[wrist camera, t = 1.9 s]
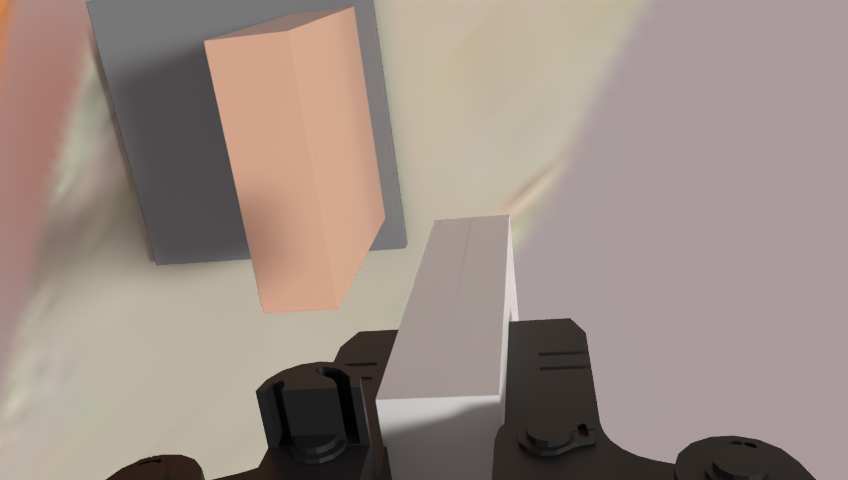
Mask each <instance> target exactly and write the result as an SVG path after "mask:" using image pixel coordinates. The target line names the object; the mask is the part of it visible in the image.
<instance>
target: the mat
mask: <svg viewBox="0 0 848 480" xmlns="http://www.w3.org/2000/svg"><path fill="white" fill-rule="evenodd" d="M86 5H87V8H88V12H89V16H90V20H91V23H92V27H93V31H94V34H95V38H96V42H97V46H98V49H99V53H100V57H101V61H102V64H103V68H104V72H105V75H106V79H107V83H108V87H109V90H110V94H111V98H112V101H113V105H114V109H115V113H116V116H117V120H118V124H119V128H120V131H121V135H122V139H123V142H124V146H125V150H126V154H127V157H128V161H129V165H130V169H131V172H132V176H133V180H134V183H135V187H136V191H137V195H138V198H139V202H140V206H141V210H142V213H143V217H144V221H145V224H146V228H147V232H148V236H149V239H150V243H151V247H152V251H153V254H154V258H155V262H156V265H167V264H182V263H196V262H211V261H226V260H240V259H251V255H250V251H249V246H248V242H247V237H246V233H245V228H244V223H243V219H242V214H241V210H240V205H239V201H238V196H237V192H236V187H235V183H234V178H233V173H232V169H231V164H230V160H229V155H228V151H227V146H226V142H225V137H224V133H223V128H222V123H221V119H220V114H219V110H218V105H217V101H216V96H215V92H214V87H213V83H212V78H211V73H210V69H209V64H208V60H207V55H206V51H205V44H204V41H205V40H208V39H212V38H215V37H218V36H221V35H225V34H228V33H231V32H235V31H238V30H241V29H244V28H248V27H251V26H254V25H257V24H261V23H264V22H267V21H270V20H274V19H277V18H280V17H283V16H287V15H290V14H296V13H304V12H312V11H320V10H328V9H337V8H345V7H353V6H354V11H355V17H356V24H357V31H358V38H359V44H360V51H361V58H362V64H363V71H364V78H365V84H366V91H367V98H368V104H369V111H370V118H371V125H372V131H373V138H374V145H375V151H376V158H377V165H378V171H379V178H380V185H381V192H382V198H383V205H384V212H385V220H384V222H383V224H382V226H381V227H380V229H379V231H378V233H377V235H376V237H375V239H374V241H373V243H372V245H371V247H370V249H369V251H373V250H387V249H402V248H406V246H407V237H406V230H405V222H404V215H403V208H402V201H401V194H400V187H399V180H398V173H397V165H396V158H395V151H394V144H393V137H392V130H391V123H390V116H389V108H388V101H387V94H386V87H385V80H384V73H383V66H382V59H381V51H380V44H379V37H378V30H377V23H376V16H375V9H374V2H373V0H91V1H86Z"/></svg>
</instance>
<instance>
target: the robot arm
mask: <svg viewBox="0 0 848 480" xmlns="http://www.w3.org/2000/svg"><path fill="white" fill-rule="evenodd" d="M256 395H257V399H258V404H259V408H260V412H261V417H262V421H263V426H264V430H265V434H266V439H267V443H268V447H269V448H268V450H267V452H266V454H265V456H264V458H263V460H262V461H261V463H260V465H259V467H258V468H255V469H252V470H249V471H246V472H242V473H239V474H234V475H230V476H226V477H222V478H218V479H213V480H816V479H815V478H814V477H813V476H812V475H811V474H810V473H809V472H808V471H807V470H806V469H805V468H804V467H803V466H802V465H801V464H800V463H799V462H798V461H797V460H796V459H794V458H793V457H791V456H790V455H789V454H788V453H786V452H785V451H783V450H782V449H780V448H778V447H775V446H773V445H770V444H768V443H765V442H763V441H760V440H757V439H751V438H745V437H739V436H720V437H709V438H706V439H703V440H700V441H697V442H694V443H691V444H690V445H689V446H687V447H686V448H685V449H684V450H683V451H681V452H680V453H679V454H678V457H677V460H676V463H675V464H672V463H666V462H661V461H656V460H651V459H648V458H644V457H640V456H637V455H635V454H632V453H630V452H628V451H626V450H623V449H622V448H620V447H619V446H617V445H616V444H615V443H613V442H612V441H611V440H610V439H609V438H608V437H607V436H606V434H605V433H604V431H603V429H602V427H601V424H600V420H599V414H598V408H597V401H596V395H595V389H594V382H593V376H592V370H591V363H590V357H589V352H588V345H587V339H586V333H585V332H584V331H583V330H582V329H581V328H580V327H579V326H578V325H577V324H576V323H575V322H574V321H572V320H571V319H570V318H569V319H568V318H567V319H550V320H530V321H519V319H518V308H517V296H516V285H515V274H514V262H513V251H512V239H511V228H510V217H509V215H499V216H486V217H473V218H459V219H446V220H435V222H434V225H433V228H432V231H431V234H430V237H429V240H428V243H427V246H426V249H425V252H424V255H423V258H422V261H421V264H420V267H419V270H418V273H417V276H416V279H415V282H414V285H413V288H412V291H411V294H410V297H409V300H408V303H407V306H406V309H405V312H404V315H403V318H402V321H401V324H400V327H399V330H383V331H364V332H358V333H357V334H356V335H355V336H353V337H352V338H351V339H350V340H349V341H347V342H346V343H345V344H344V345H343V346H341V347H340V349H339V351H338V354H337V356H336V358H335V360H334V362H315V363H308V364H301V365H298V366H295V367H292V368H289V369H286V370H283V371H281V372H279V373H278V374H276V375H274V376H272V377H271V378H269V379H267V380H266V381H265V382H264V383H263V384H262V385H261V386H260V387H259V388H258V389H257V390H256ZM106 480H205V479H204V475H203V471H202V468H201V467H200V466H199V464H198V463H197V462H196V460H195V459H192V458H189V457H186V456H183V455H159V456H153V457H151V458H150V457H148V458H145V459H141V460H139V461H137V462H135V463H133V464H131V465H128V466H126V467H124V468H122V469H120V470H119V471H117V472H116V473H115V474H113V475H112V476H110V477H109V478H107V479H106Z"/></svg>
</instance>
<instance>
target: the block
mask: <svg viewBox="0 0 848 480" xmlns="http://www.w3.org/2000/svg"><path fill="white" fill-rule="evenodd" d="M204 44H205V51H206V55H207V60H208V64H209V69H210V73H211V78H212V83H213V87H214V92H215V96H216V101H217V105H218V110H219V114H220V119H221V123H222V128H223V133H224V137H225V142H226V146H227V151H228V155H229V160H230V164H231V169H232V173H233V178H234V183H235V187H236V192H237V196H238V201H239V205H240V210H241V214H242V219H243V223H244V228H245V233H246V237H247V242H248V246H249V251H250V255H251V260H252V264H253V269H254V274H255V278H256V283H257V287H258V292H259V296H260V301H261V305H262V308H263V313H264V314H265V313H283V312H301V311H319V310H337V309H339V307H340V305H341V303H342V301H343V299H344V297H345V295H346V293H347V291H348V289H349V287H350V286H351V284H352V282H353V280H354V278H355V276H356V274H357V272H358V270H359V268H360V266H361V264H362V262H363V260H364V258H365V256H366V255H367V253H368V251H369V249H370V247H371V245H372V243H373V241H374V239H375V237H376V235H377V233H378V231H379V229H380V227H381V226H382V224H383V222H384V220H385V212H384V205H383V198H382V192H381V185H380V178H379V171H378V165H377V158H376V151H375V145H374V138H373V131H372V125H371V118H370V111H369V104H368V98H367V91H366V84H365V78H364V71H363V64H362V58H361V51H360V44H359V38H358V31H357V24H356V17H355V11H354V6H353V7H345V8H337V9H328V10H320V11H312V12H304V13H296V14H290V15H287V16H283V17H280V18H277V19H274V20H270V21H267V22H264V23H261V24H257V25H254V26H251V27H248V28H244V29H241V30H238V31H235V32H231V33H228V34H225V35H221V36H218V37H215V38H212V39H208V40H205V41H204Z"/></svg>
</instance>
